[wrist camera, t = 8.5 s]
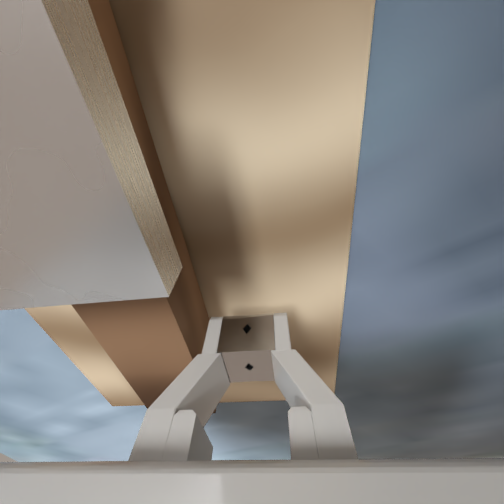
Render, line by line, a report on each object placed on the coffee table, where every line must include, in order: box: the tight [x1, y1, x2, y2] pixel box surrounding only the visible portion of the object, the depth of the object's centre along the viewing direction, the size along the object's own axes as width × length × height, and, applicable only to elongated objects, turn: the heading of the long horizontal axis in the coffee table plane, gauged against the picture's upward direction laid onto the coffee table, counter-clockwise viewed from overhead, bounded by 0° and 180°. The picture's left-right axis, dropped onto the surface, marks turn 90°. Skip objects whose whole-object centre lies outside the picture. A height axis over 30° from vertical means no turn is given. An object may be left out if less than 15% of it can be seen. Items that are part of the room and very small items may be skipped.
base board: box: [24, 0, 375, 406], centre depth 9 cm, size 26×15×1 cm, turn 7°
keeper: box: [0, 0, 182, 310], centre depth 6 cm, size 5×6×4 cm
